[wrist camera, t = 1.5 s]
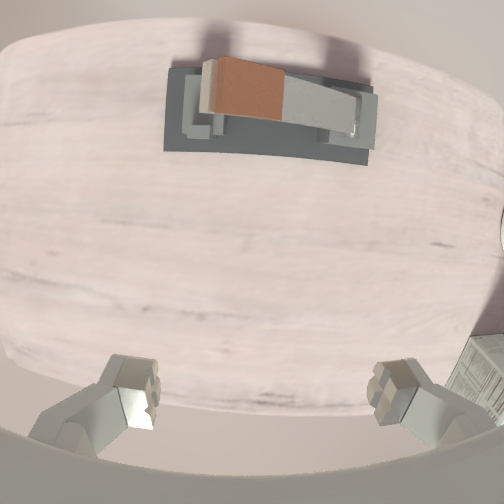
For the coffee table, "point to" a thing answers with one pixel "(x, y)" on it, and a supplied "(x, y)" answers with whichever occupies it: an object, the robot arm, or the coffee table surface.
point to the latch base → (262, 125)
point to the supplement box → (482, 375)
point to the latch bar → (276, 97)
